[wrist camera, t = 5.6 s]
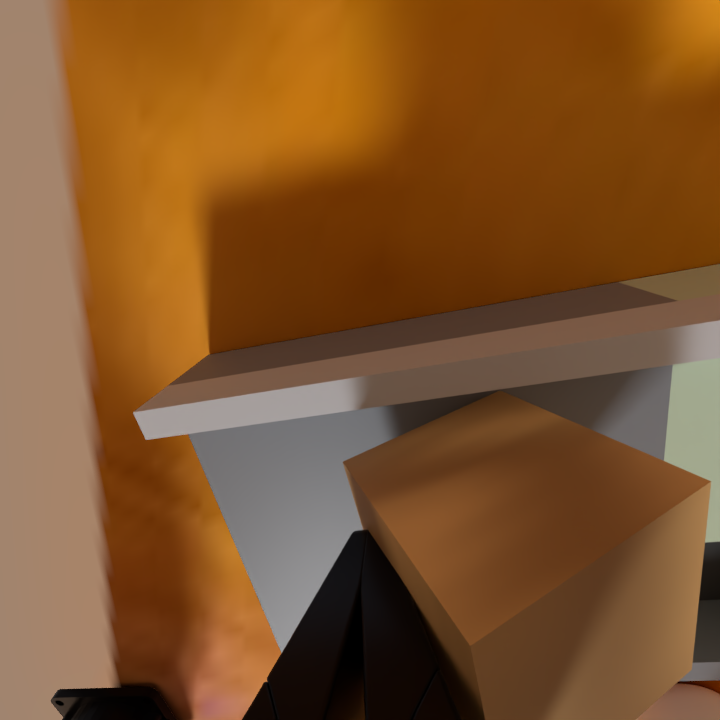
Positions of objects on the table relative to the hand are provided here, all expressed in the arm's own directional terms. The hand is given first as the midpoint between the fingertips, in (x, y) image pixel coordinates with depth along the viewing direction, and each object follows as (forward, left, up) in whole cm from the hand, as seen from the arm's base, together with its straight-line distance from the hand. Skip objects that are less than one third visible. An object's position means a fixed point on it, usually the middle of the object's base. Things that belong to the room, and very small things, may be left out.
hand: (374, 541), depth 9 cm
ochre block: (+2, 0, -1) cm, 2 cm away
